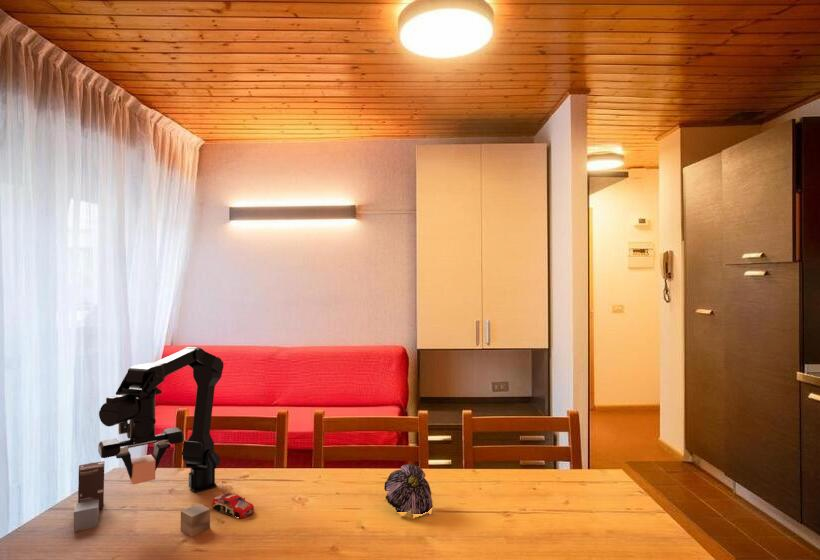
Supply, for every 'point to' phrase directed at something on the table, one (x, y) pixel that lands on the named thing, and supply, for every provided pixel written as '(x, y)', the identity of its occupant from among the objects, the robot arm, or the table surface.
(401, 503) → the decorative flower
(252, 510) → the race car
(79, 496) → the box
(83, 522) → the gray block
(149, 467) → the terracotta block
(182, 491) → the table surface
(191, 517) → the metal block
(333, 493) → the table surface
